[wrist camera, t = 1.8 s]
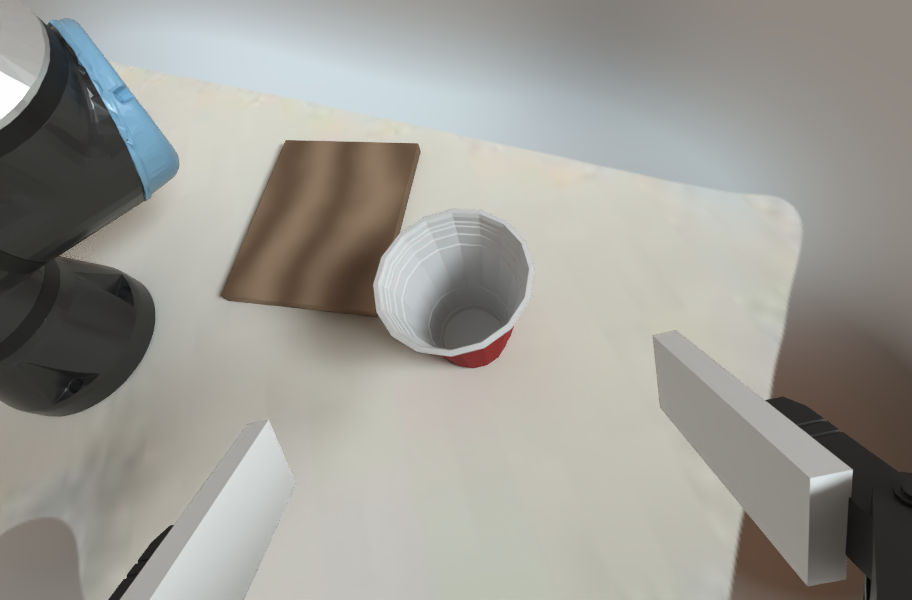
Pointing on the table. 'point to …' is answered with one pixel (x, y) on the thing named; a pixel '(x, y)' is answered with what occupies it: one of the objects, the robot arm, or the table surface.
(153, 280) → the table surface
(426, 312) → the plastic cup
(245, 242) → the walnut board
